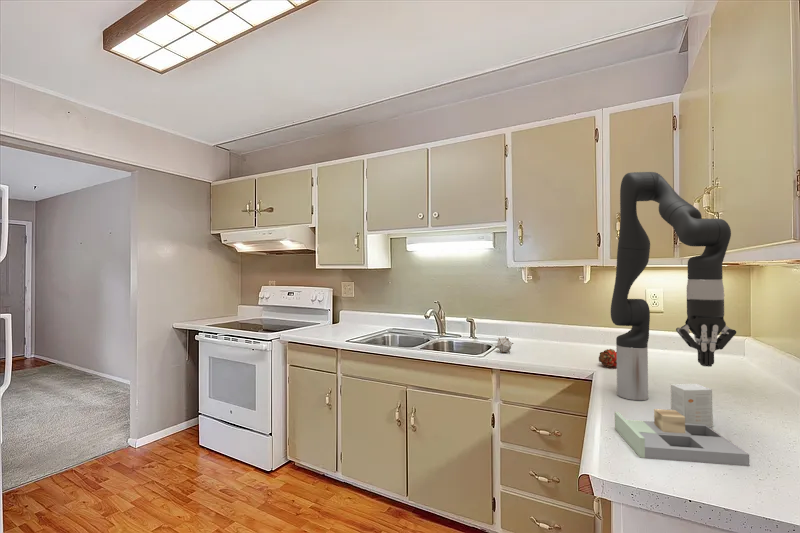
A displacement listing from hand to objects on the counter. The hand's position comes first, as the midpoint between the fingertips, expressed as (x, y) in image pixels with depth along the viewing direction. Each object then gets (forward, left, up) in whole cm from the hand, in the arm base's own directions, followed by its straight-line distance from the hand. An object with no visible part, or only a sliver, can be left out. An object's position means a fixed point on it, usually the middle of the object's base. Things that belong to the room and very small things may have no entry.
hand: (705, 365), depth 100 cm
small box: (-12, +2, -19) cm, 22 cm away
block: (0, -9, -16) cm, 19 cm away
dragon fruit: (-78, +1, -19) cm, 80 cm away
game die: (-100, -43, -19) cm, 111 cm away
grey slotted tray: (+4, -9, -19) cm, 21 cm away
